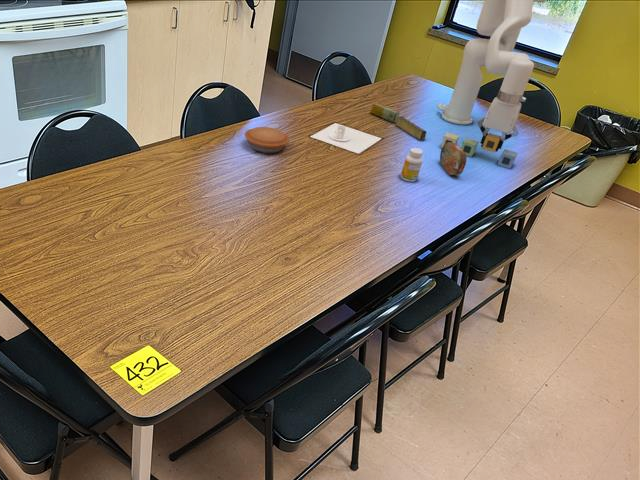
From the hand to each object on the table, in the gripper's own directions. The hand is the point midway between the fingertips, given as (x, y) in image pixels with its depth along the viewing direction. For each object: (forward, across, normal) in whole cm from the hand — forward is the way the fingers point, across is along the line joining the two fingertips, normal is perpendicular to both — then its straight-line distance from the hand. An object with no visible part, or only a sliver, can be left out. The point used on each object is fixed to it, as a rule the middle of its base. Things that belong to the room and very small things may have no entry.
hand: (489, 147), depth 205 cm
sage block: (+4, +7, 0) cm, 8 cm away
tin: (+4, +8, +20) cm, 22 cm away
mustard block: (0, 0, 0) cm, 0 cm away
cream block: (+4, +14, 0) cm, 15 cm away
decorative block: (+5, +30, -4) cm, 31 cm away
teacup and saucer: (+5, +47, +20) cm, 51 cm away
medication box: (+5, +44, -11) cm, 45 cm away
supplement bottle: (+4, +17, +37) cm, 41 cm away
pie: (+4, +65, +49) cm, 82 cm away
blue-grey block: (+4, -7, 0) cm, 8 cm away
